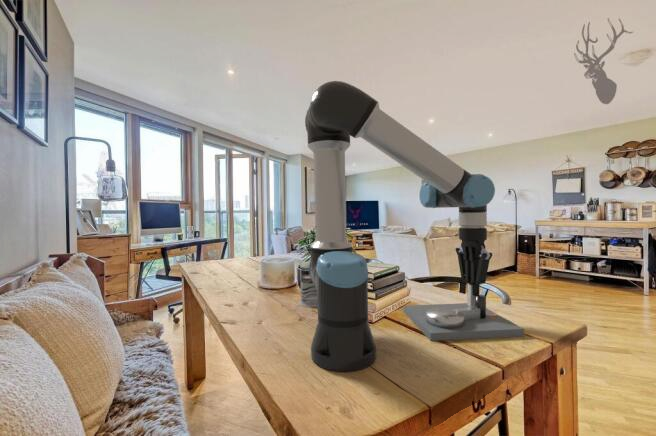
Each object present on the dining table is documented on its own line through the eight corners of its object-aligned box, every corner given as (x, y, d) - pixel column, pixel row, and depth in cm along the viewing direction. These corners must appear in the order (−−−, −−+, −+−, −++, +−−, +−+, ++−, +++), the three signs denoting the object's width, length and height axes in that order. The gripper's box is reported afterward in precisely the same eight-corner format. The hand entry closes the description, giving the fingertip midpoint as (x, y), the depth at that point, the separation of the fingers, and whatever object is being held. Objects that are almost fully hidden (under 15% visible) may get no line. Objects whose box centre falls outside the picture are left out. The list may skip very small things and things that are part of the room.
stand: (430, 340, 77) (430, 332, 77) (403, 311, 99) (403, 304, 99) (524, 336, 79) (524, 327, 79) (476, 308, 101) (476, 301, 101)
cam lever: (440, 330, 78) (440, 307, 78) (419, 317, 88) (418, 296, 88) (498, 322, 83) (498, 300, 83) (472, 310, 93) (472, 291, 93)
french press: (299, 298, 115) (298, 233, 114) (330, 298, 115) (329, 233, 114) (296, 307, 105) (294, 235, 105) (329, 307, 105) (328, 235, 104)
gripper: (500, 227, 85) (500, 311, 85) (468, 225, 97) (468, 298, 98) (477, 228, 83) (477, 313, 84) (448, 226, 95) (448, 300, 96)
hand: (472, 305), depth 91 cm, fingers closed
